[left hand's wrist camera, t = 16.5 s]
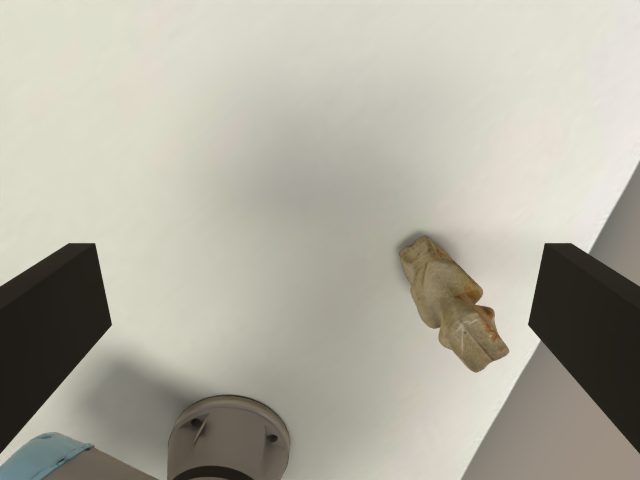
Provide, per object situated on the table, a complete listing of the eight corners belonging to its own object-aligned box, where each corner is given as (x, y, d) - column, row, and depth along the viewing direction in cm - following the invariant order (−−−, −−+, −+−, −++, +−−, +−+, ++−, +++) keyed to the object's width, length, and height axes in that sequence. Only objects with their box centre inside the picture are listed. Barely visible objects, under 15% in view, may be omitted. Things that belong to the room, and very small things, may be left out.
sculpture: (418, 298, 46) (461, 391, 32) (384, 249, 44) (415, 326, 30) (464, 271, 45) (529, 355, 31) (432, 220, 43) (486, 285, 29)
